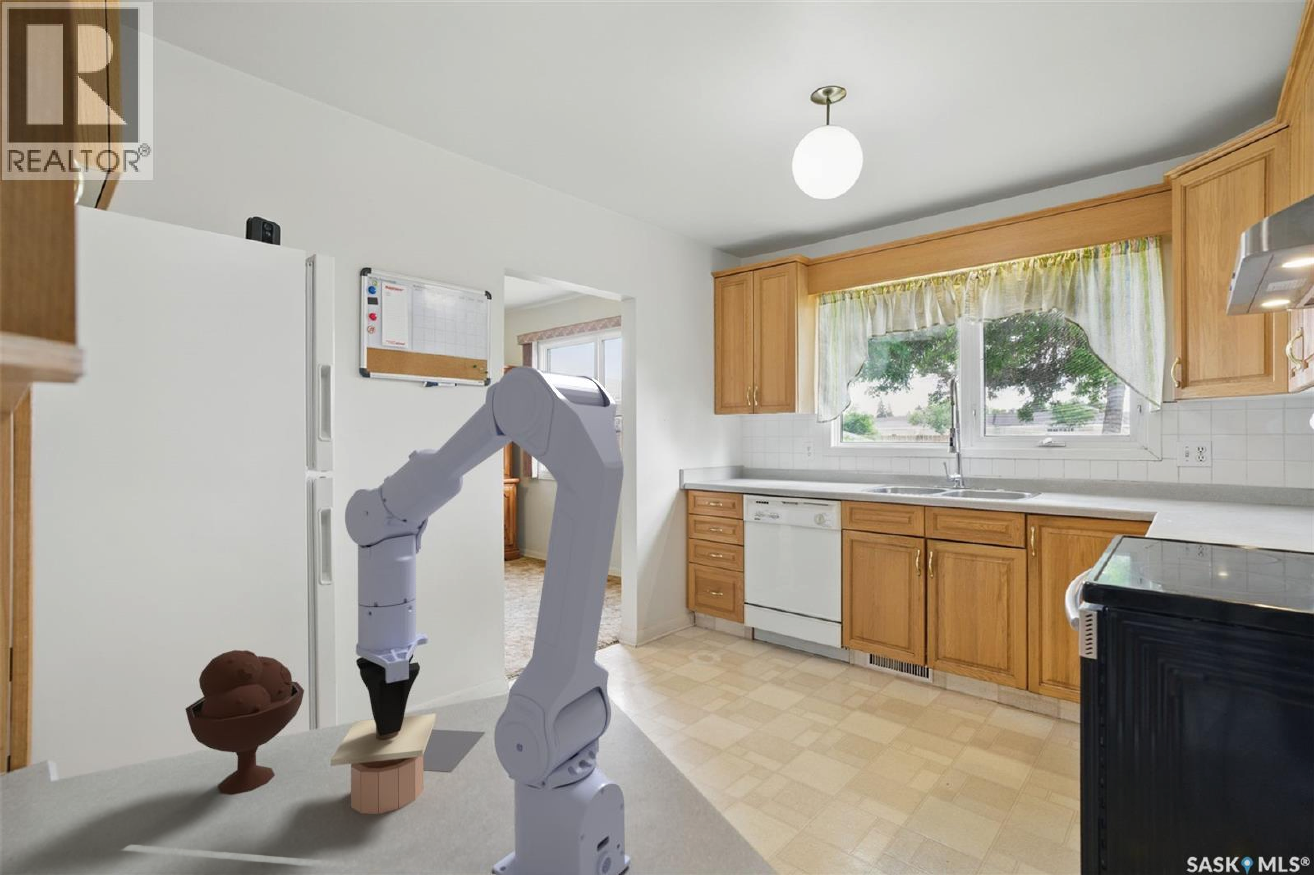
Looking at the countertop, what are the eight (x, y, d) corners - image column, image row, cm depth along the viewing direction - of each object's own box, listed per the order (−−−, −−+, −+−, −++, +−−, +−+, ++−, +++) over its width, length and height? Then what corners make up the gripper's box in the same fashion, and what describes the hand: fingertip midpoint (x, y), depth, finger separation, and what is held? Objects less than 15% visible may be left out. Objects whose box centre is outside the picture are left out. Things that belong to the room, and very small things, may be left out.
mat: (485, 735, 78) (485, 732, 78) (451, 775, 69) (451, 771, 69) (415, 731, 80) (415, 728, 80) (372, 770, 70) (372, 767, 70)
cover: (435, 719, 70) (435, 686, 70) (422, 756, 61) (422, 718, 62) (355, 726, 68) (355, 692, 68) (330, 766, 60) (330, 727, 60)
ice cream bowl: (248, 818, 61) (248, 669, 61) (158, 806, 63) (158, 662, 64) (325, 764, 72) (324, 637, 72) (245, 755, 74) (245, 632, 74)
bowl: (436, 792, 66) (436, 750, 66) (374, 825, 60) (374, 779, 60) (399, 772, 70) (399, 733, 70) (338, 802, 64) (338, 759, 64)
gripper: (440, 610, 61) (441, 745, 61) (415, 582, 73) (415, 695, 73) (363, 621, 57) (363, 765, 57) (350, 590, 70) (350, 709, 69)
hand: (387, 727), depth 65 cm, fingers closed on cover, 2 cm apart
